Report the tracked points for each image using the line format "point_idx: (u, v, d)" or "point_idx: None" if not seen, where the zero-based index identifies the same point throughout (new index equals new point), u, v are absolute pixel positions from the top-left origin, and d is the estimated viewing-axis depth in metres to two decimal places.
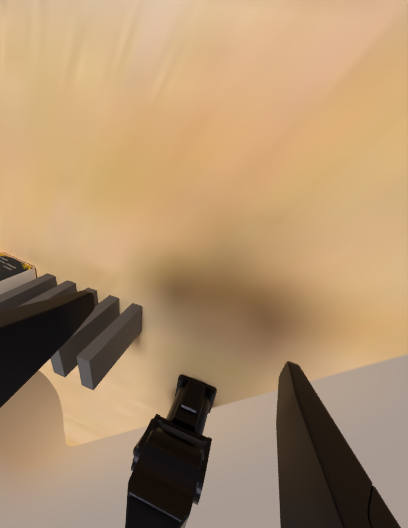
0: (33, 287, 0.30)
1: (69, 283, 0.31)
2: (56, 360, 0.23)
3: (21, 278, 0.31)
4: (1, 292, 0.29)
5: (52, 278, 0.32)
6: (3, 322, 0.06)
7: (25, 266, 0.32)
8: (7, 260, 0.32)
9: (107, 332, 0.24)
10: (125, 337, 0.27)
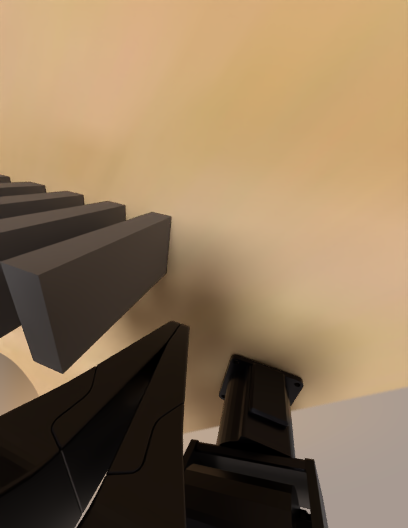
0: None
1: (33, 184, 0.17)
2: None
3: None
4: None
5: (3, 178, 0.18)
6: (124, 373, 0.05)
7: None
8: None
9: (101, 234, 0.10)
10: (140, 266, 0.13)
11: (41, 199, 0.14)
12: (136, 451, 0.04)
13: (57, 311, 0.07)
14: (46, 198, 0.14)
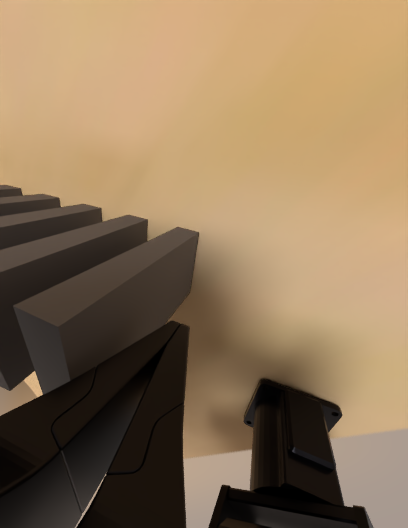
0: None
1: (46, 196, 0.16)
2: None
3: None
4: None
5: (14, 190, 0.16)
6: (124, 373, 0.05)
7: None
8: None
9: (128, 259, 0.09)
10: (166, 291, 0.11)
11: (58, 215, 0.12)
12: (136, 451, 0.04)
13: (78, 362, 0.06)
14: (63, 214, 0.13)
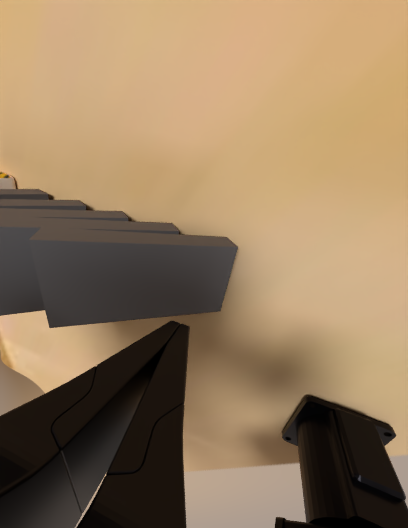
0: None
1: (75, 203, 0.15)
2: None
3: None
4: None
5: (40, 196, 0.15)
6: (124, 373, 0.05)
7: None
8: None
9: (129, 235, 0.10)
10: (165, 283, 0.11)
11: (68, 217, 0.12)
12: (136, 451, 0.04)
13: (46, 275, 0.09)
14: (76, 216, 0.12)
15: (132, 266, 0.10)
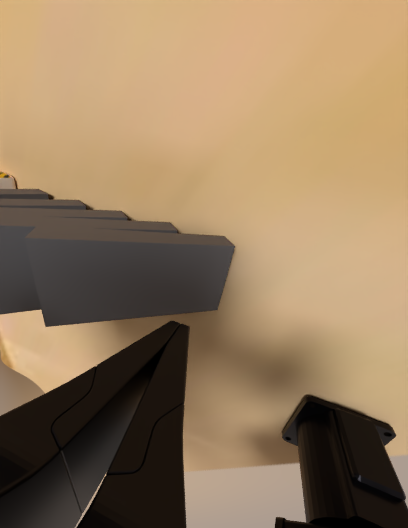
0: None
1: (75, 203, 0.15)
2: None
3: None
4: None
5: (40, 196, 0.15)
6: (124, 373, 0.05)
7: None
8: None
9: (126, 234, 0.10)
10: (163, 282, 0.11)
11: (67, 216, 0.12)
12: (136, 451, 0.04)
13: (42, 274, 0.09)
14: (75, 216, 0.12)
15: (129, 265, 0.10)
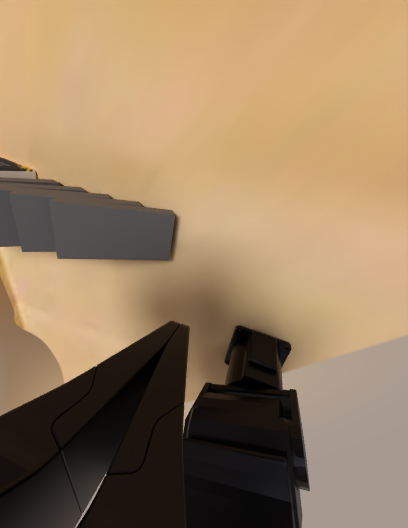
0: None
1: (78, 189, 0.22)
2: None
3: None
4: None
5: (54, 184, 0.22)
6: (124, 373, 0.05)
7: (22, 167, 0.23)
8: None
9: (106, 204, 0.18)
10: (129, 235, 0.19)
11: None
12: (136, 451, 0.04)
13: (57, 223, 0.16)
14: (77, 195, 0.19)
15: (107, 222, 0.18)
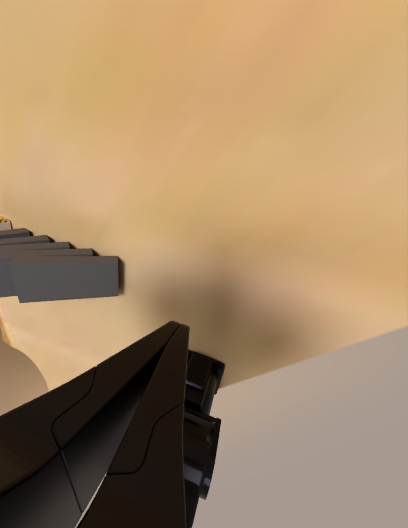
0: None
1: (43, 238, 0.26)
2: None
3: None
4: None
5: (24, 233, 0.27)
6: (124, 373, 0.05)
7: None
8: None
9: (58, 258, 0.22)
10: (79, 281, 0.23)
11: (34, 248, 0.23)
12: (136, 451, 0.04)
13: (16, 278, 0.21)
14: (39, 248, 0.24)
15: (59, 273, 0.22)
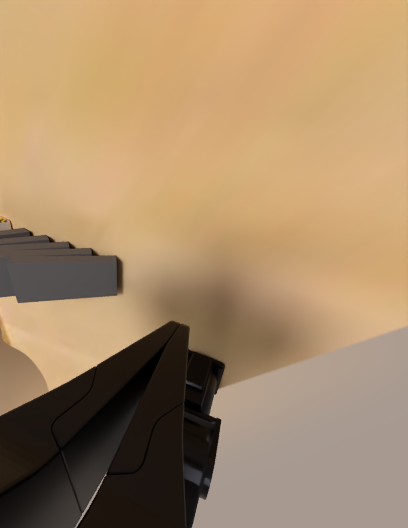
0: None
1: (43, 237, 0.26)
2: None
3: None
4: None
5: (24, 233, 0.27)
6: (124, 373, 0.05)
7: None
8: None
9: (56, 258, 0.22)
10: (78, 280, 0.23)
11: (34, 248, 0.23)
12: (136, 451, 0.04)
13: (14, 278, 0.21)
14: (39, 248, 0.24)
15: (57, 272, 0.22)
